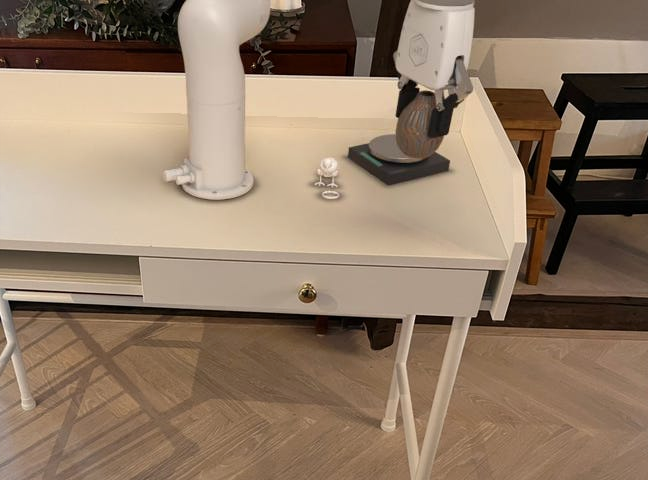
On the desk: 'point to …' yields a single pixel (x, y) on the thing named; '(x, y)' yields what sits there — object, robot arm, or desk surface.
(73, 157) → the desk surface
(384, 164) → the scale
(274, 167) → the desk surface
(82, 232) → the desk surface
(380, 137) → the scale pan
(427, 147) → the vase
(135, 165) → the desk surface
